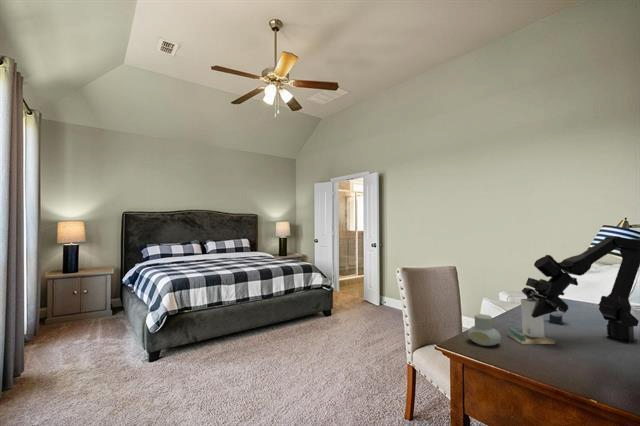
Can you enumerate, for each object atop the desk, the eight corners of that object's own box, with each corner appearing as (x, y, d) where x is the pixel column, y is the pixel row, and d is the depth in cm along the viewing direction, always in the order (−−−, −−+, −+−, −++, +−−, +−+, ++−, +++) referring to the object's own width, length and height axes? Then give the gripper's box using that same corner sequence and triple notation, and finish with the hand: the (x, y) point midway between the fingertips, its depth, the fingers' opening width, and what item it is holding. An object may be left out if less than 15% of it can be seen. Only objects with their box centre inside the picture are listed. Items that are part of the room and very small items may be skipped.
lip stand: (538, 335, 122) (538, 327, 122) (555, 344, 113) (554, 335, 113) (507, 335, 122) (507, 327, 123) (521, 343, 113) (521, 335, 114)
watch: (567, 325, 133) (566, 300, 134) (544, 322, 138) (543, 297, 139) (568, 322, 137) (566, 297, 138) (546, 319, 143) (544, 295, 143)
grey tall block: (535, 332, 120) (533, 297, 121) (544, 336, 115) (542, 300, 116) (522, 332, 120) (520, 297, 121) (530, 337, 115) (528, 300, 116)
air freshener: (504, 344, 114) (502, 316, 114) (497, 350, 108) (495, 321, 108) (473, 337, 122) (471, 311, 122) (465, 342, 116) (463, 315, 116)
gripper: (525, 267, 128) (499, 295, 128) (557, 274, 109) (527, 306, 109) (545, 286, 127) (520, 313, 127) (582, 296, 109) (551, 328, 109)
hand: (528, 314), depth 118 cm, fingers closed on grey tall block, 5 cm apart
